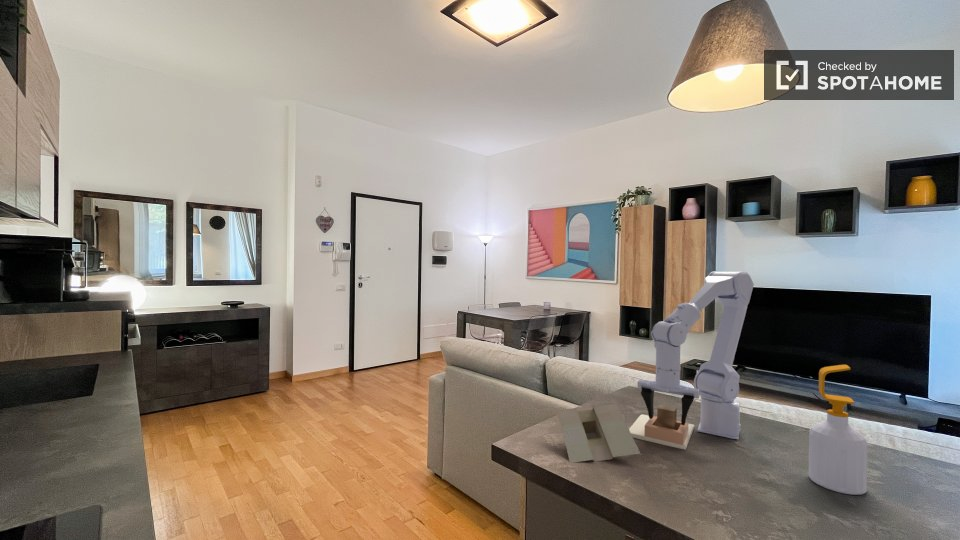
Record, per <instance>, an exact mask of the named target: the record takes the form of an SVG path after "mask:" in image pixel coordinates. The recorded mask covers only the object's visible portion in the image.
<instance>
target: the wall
mask: <svg viewBox="0 0 960 540" xmlns="http://www.w3.org/2000/svg"><path fill="white" fill-rule="evenodd" d="M556 412H557V413H558V419H559V423H560V427H561V432H562V435H563V440H564V443H565V448H566V452H567V456H568V461H569V462H572V463H580V462H586V461H593V462H602V461H609V460H612V459H613V458H616V457H624V456H631V455H638V454H641V451H640V449H639V447H638V445H637V444H636V441H635V438H633V437H632V435H631V433H630V431H629V428H630V427H629V426H628V424H627V423H626V421H625V418H624V416H623V414H622V412H621V409H620V408H619V406H618V405H617V403H610V404H599V405H593V406H592V409H587V410H577V408H576V407H575V408H567V409H566V408H565V409H557V411H556Z"/></svg>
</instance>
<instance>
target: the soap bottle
mask: <svg viewBox="0 0 960 540" xmlns="http://www.w3.org/2000/svg"><path fill="white" fill-rule="evenodd" d="M850 370H851V366H849V365H847V364H838V365H830V366H824V367H821V368H820V369H819V371H818V391H819V394H820V396H821V397H822V398H823V399H824V400H826V401H828V403H829V404H830V405H832V409H831V408H830V409H827V411H826V413H827V414H826V420H824V421H822V422H818V423H815V424H813V425H812V426H811V427H810V429H809V431H808V478H810V480H811V481H812V482H814V483H815V484H816V485H818V486H820V487H823V488H825V489H827V490H830V491H833V492H835V493H840V494H845V495H854V496H855V495H859V496H860V495H864V494H865V493H867V491H868V490H867V488H868V487H867V486H868V481H867V480H868V440H867V439H866V437H865V436H864V435H863V434H862V433H861V432H859V431H858V430H857V429H855V428H853V427H852V426H851V425H850V424H849V413H848V412H846V411H844V407H847V404H850V405H854V404H855V401H854V400H853V399H852V398H851V397H849V396H842V395H834V394H827V393H825V386H826V385H825V383H826V382H825V381H826V379H825V378H826V376H827V374H830V373H837V372H844V371H850Z"/></svg>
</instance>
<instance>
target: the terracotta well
mask: <svg viewBox="0 0 960 540" xmlns="http://www.w3.org/2000/svg"><path fill="white" fill-rule="evenodd" d="M688 424H689V422H687V421H686V422H685V425H681V420H677V427H676V430H674V429H669V428H664V427H660V426H657V415H656V416H655V415H653V418H652V419H649V420H648V422H647V423H646V424H645V437H650V438H654V439H658V440H663V441H667V442H672V443H676V444H680V445H684V442H685V440H686V438H687V435H688Z"/></svg>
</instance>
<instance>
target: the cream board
mask: <svg viewBox="0 0 960 540" xmlns="http://www.w3.org/2000/svg"><path fill="white" fill-rule="evenodd" d="M649 419H650V418H649V414H640V415H639V416H638V417H637V419H636V420H635V421H634V422H633V424H631V426H630V427H628V428H629V431H630V433H631V435H632V437H633V439H637V440H643V441H646V442H652V443H655V444H659V445H663V446H668V447H672V448H675V449H676V448H677V449H681V450H684V451H685V450H686V449H687V446H688V445H689V442H690V440H691V437H692V434H693V432H694V429H695V424H692V423H688V435H687V438H686V440H685V442H684V445H680V444H676V443H672V442H667V441H663V440H658V439H654V438H650V437H645V424H646V423H647V422H648V420H649Z"/></svg>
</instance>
